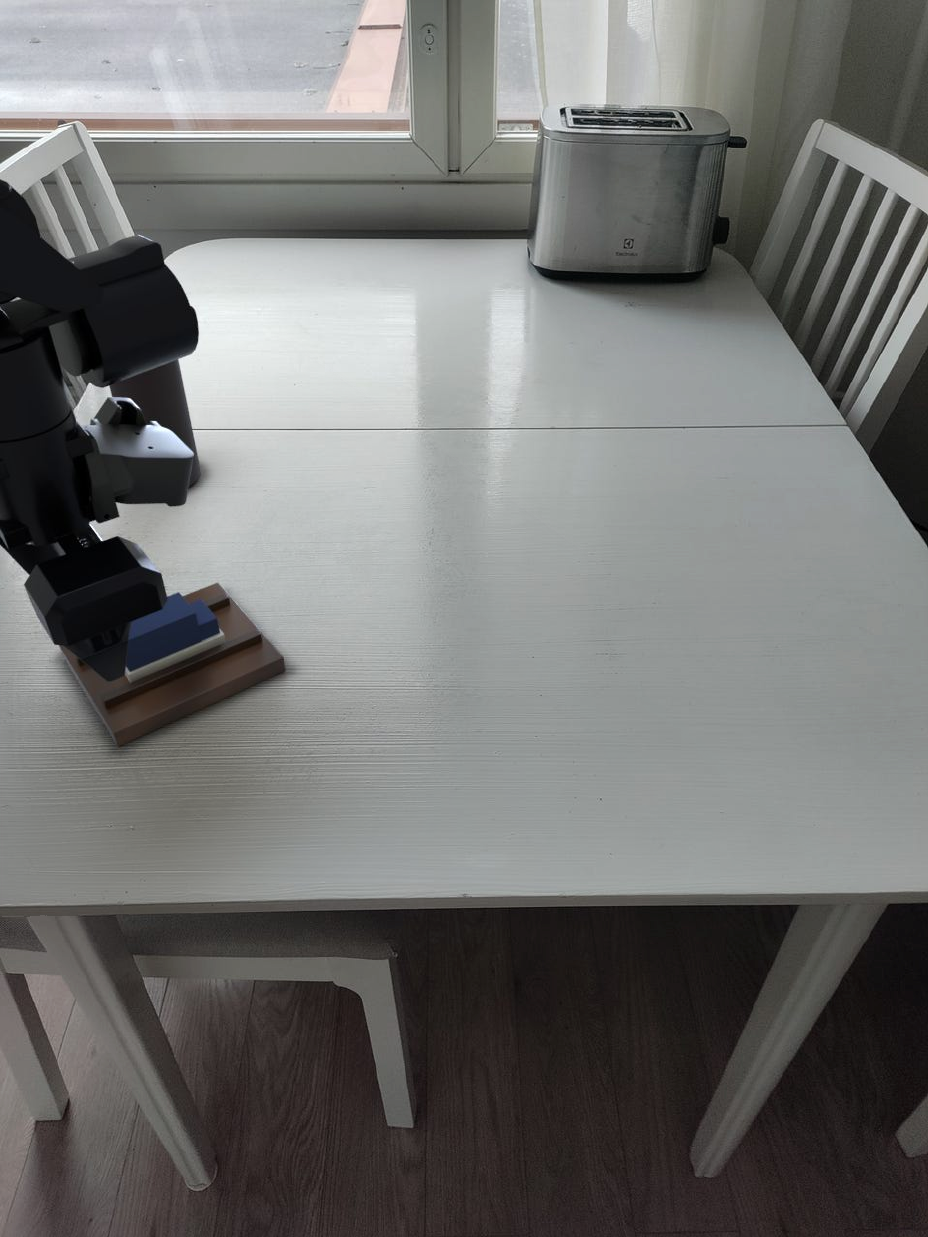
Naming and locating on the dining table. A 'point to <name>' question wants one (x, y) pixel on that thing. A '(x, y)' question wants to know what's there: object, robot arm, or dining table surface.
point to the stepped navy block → (170, 636)
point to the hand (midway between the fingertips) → (88, 637)
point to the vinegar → (162, 403)
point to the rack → (183, 675)
